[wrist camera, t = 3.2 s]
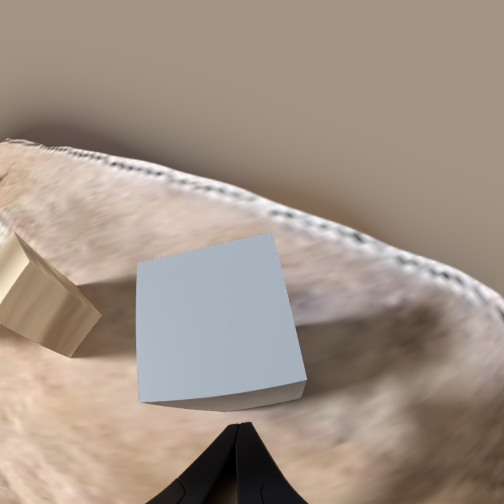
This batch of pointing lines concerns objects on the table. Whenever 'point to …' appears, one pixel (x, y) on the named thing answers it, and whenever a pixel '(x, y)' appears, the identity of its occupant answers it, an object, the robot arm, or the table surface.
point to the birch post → (42, 300)
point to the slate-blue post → (217, 329)
